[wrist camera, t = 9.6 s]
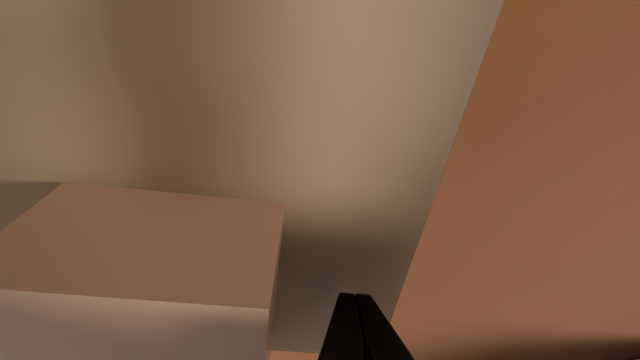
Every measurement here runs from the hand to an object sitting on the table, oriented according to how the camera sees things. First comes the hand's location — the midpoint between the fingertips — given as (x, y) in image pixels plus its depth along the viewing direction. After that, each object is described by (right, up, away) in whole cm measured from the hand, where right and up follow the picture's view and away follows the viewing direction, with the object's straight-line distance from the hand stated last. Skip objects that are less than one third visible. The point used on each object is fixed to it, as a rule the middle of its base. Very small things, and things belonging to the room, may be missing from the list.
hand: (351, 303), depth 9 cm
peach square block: (-4, +1, 0) cm, 5 cm away
